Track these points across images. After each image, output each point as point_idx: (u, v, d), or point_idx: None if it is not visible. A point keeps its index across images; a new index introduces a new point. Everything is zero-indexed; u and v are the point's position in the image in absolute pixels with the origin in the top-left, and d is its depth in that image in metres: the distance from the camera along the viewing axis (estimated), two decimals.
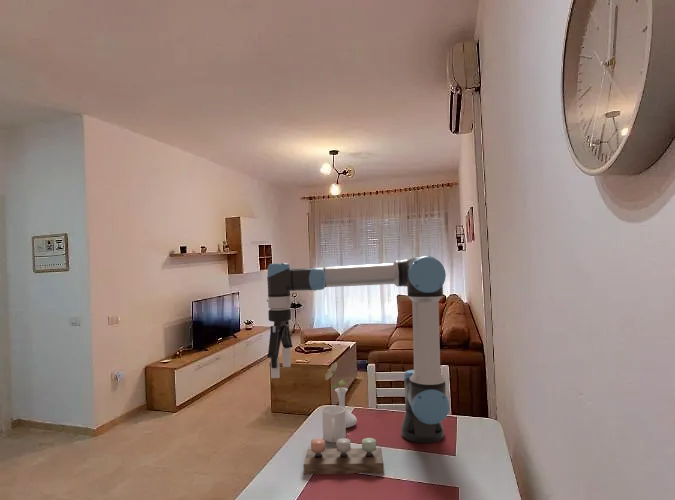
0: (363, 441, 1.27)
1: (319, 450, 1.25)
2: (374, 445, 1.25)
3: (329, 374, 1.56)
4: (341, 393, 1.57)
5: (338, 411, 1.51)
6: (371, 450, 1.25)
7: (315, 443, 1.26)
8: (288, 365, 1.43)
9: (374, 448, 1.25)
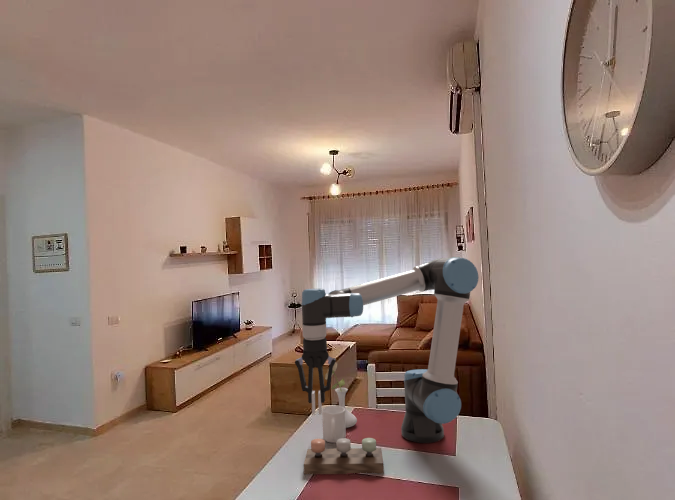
0: (363, 441, 1.27)
1: (319, 450, 1.25)
2: (374, 445, 1.25)
3: None
4: (341, 393, 1.57)
5: (338, 411, 1.51)
6: (371, 450, 1.25)
7: (315, 443, 1.26)
8: None
9: (374, 448, 1.25)
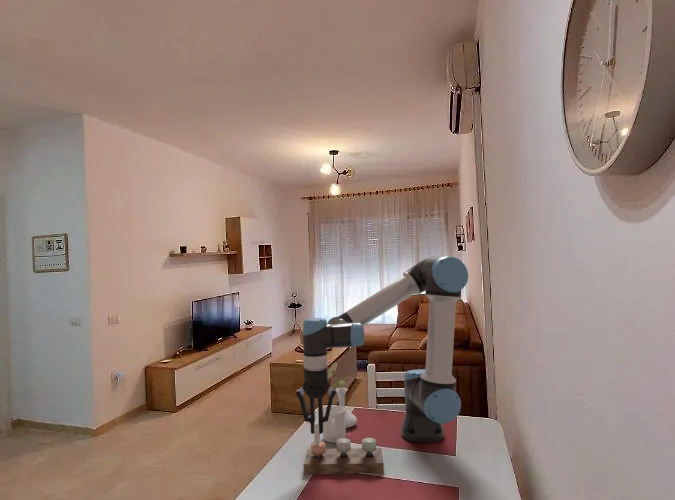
0: (363, 441, 1.27)
1: (319, 452, 1.25)
2: (374, 445, 1.25)
3: (329, 374, 1.56)
4: (341, 393, 1.57)
5: (338, 411, 1.51)
6: (371, 450, 1.25)
7: (315, 446, 1.26)
8: None
9: (374, 448, 1.25)
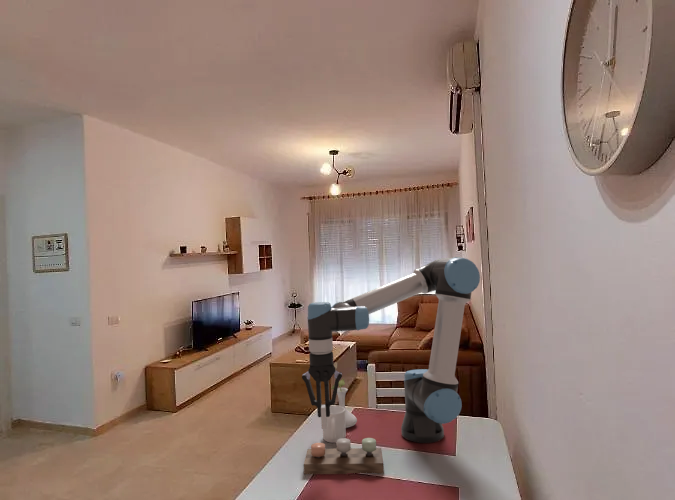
0: (363, 441, 1.27)
1: (319, 454, 1.25)
2: (374, 445, 1.25)
3: None
4: (341, 393, 1.57)
5: (338, 411, 1.51)
6: (371, 450, 1.25)
7: (315, 447, 1.26)
8: None
9: (374, 448, 1.25)
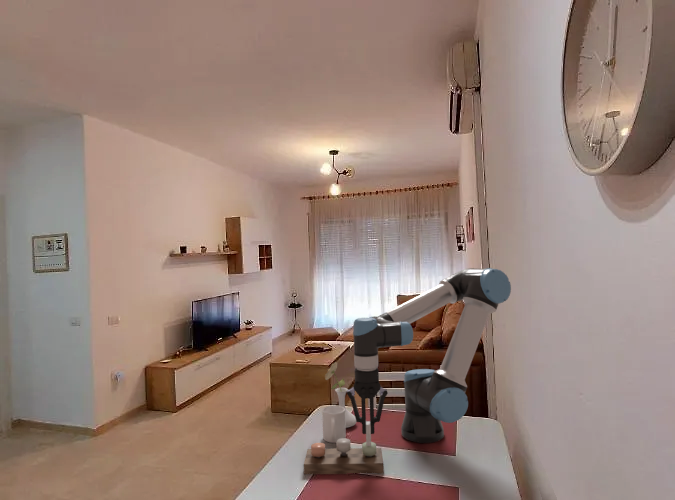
0: (363, 445, 1.27)
1: (319, 454, 1.25)
2: (374, 449, 1.25)
3: (329, 374, 1.56)
4: (341, 393, 1.57)
5: (338, 411, 1.51)
6: (371, 454, 1.25)
7: (315, 447, 1.26)
8: None
9: (374, 452, 1.25)
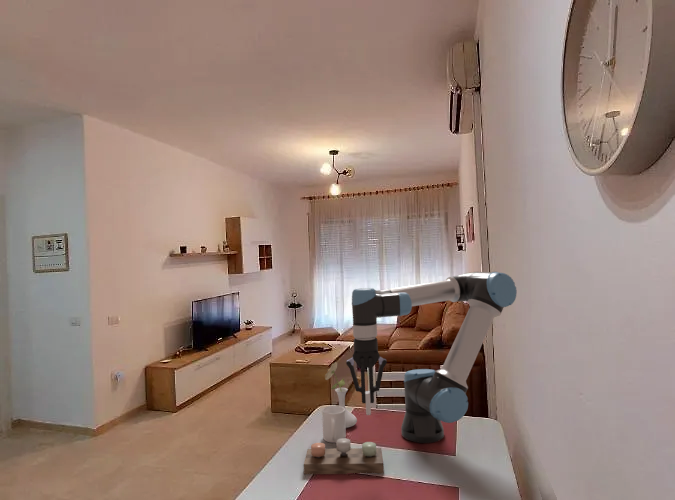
0: (363, 445, 1.27)
1: (319, 454, 1.25)
2: (374, 449, 1.25)
3: (329, 374, 1.56)
4: (341, 393, 1.57)
5: (338, 411, 1.51)
6: (371, 454, 1.25)
7: (315, 447, 1.26)
8: None
9: (374, 452, 1.25)
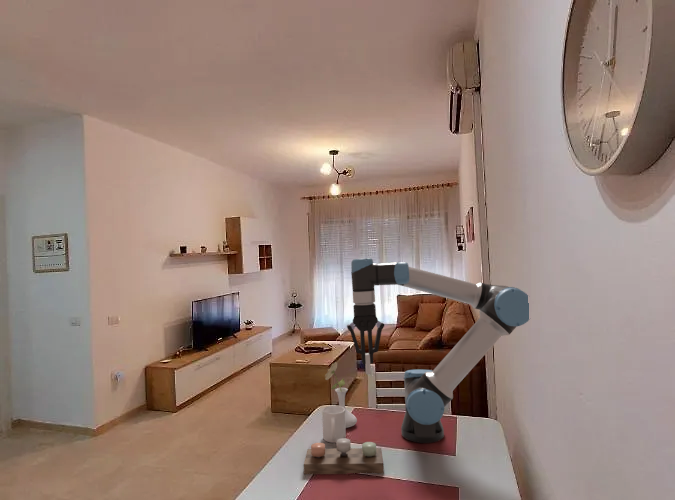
0: (363, 445, 1.27)
1: (319, 454, 1.25)
2: (374, 449, 1.25)
3: (329, 374, 1.56)
4: (341, 393, 1.57)
5: (338, 411, 1.51)
6: (371, 454, 1.25)
7: (315, 447, 1.26)
8: None
9: (374, 452, 1.25)
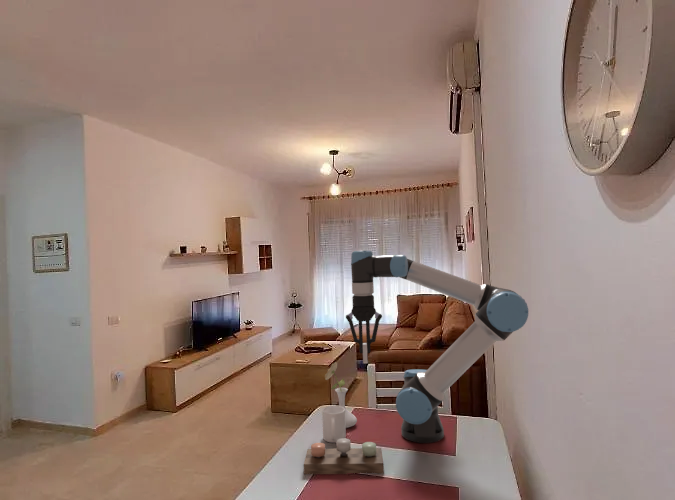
0: (363, 445, 1.27)
1: (319, 454, 1.25)
2: (374, 449, 1.25)
3: (329, 374, 1.56)
4: (341, 393, 1.57)
5: (338, 411, 1.51)
6: (371, 454, 1.25)
7: (315, 447, 1.26)
8: None
9: (374, 452, 1.25)
